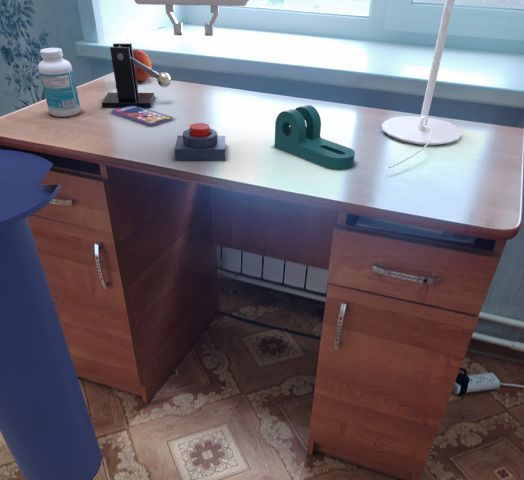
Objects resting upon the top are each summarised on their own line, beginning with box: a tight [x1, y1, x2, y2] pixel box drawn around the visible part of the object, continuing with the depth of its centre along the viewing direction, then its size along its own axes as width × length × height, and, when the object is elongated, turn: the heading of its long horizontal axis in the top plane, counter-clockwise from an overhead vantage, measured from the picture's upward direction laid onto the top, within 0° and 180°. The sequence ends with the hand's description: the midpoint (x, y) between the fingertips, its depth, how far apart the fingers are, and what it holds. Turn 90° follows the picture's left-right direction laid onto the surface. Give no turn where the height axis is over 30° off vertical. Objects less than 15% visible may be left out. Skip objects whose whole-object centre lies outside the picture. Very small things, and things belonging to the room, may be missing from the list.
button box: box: [174, 128, 226, 161], centre depth 103 cm, size 10×8×4 cm
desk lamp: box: [381, 0, 463, 169], centre depth 95 cm, size 37×18×45 cm, turn 169°
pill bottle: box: [37, 47, 82, 118], centre depth 118 cm, size 8×7×14 cm
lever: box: [118, 45, 172, 88], centre depth 125 cm, size 14×3×3 cm, turn 93°
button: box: [189, 122, 211, 137], centre depth 102 cm, size 4×4×2 cm
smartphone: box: [111, 106, 173, 127], centre depth 122 cm, size 1×7×15 cm
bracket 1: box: [101, 42, 155, 109], centre depth 126 cm, size 12×9×13 cm
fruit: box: [132, 49, 153, 82], centre depth 143 cm, size 8×8×8 cm
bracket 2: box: [274, 104, 356, 171], centre depth 103 cm, size 18×7×8 cm, turn 43°
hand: (194, 35), depth 91 cm, fingers open, 4 cm apart
